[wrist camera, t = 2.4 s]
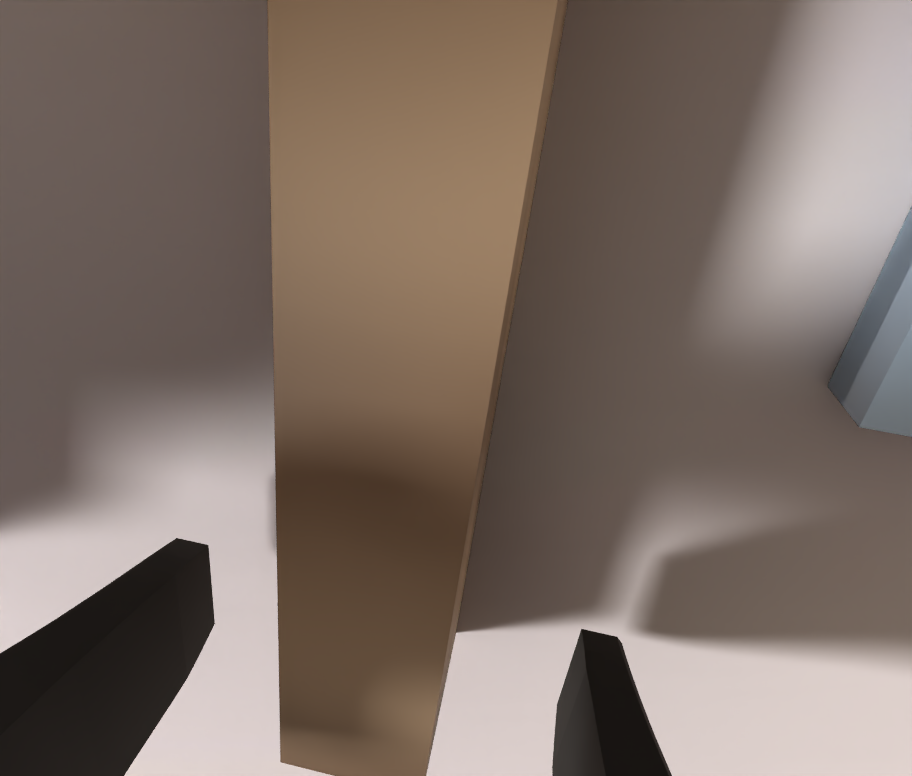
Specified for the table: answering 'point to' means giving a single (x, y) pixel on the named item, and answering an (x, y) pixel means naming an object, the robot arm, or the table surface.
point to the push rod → (390, 342)
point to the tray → (882, 349)
